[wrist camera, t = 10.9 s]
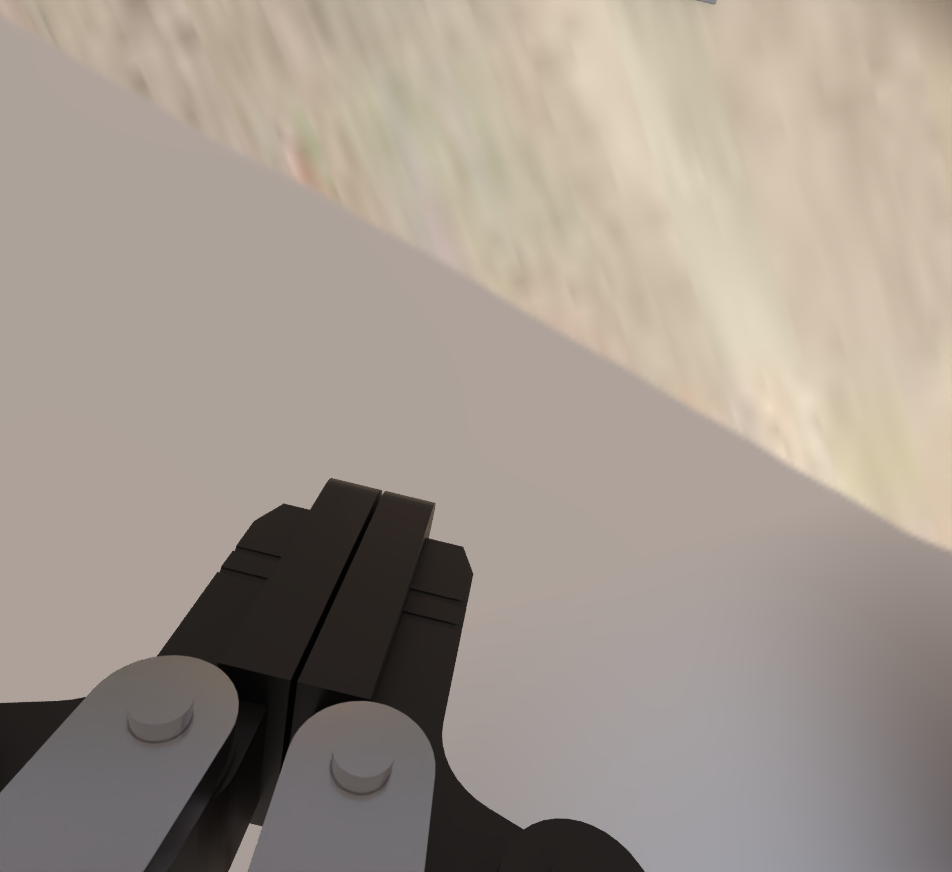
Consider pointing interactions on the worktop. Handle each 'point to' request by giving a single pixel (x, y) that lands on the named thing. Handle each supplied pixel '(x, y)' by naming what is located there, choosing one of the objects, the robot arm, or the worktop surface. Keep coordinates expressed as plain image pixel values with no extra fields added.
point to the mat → (709, 1)
